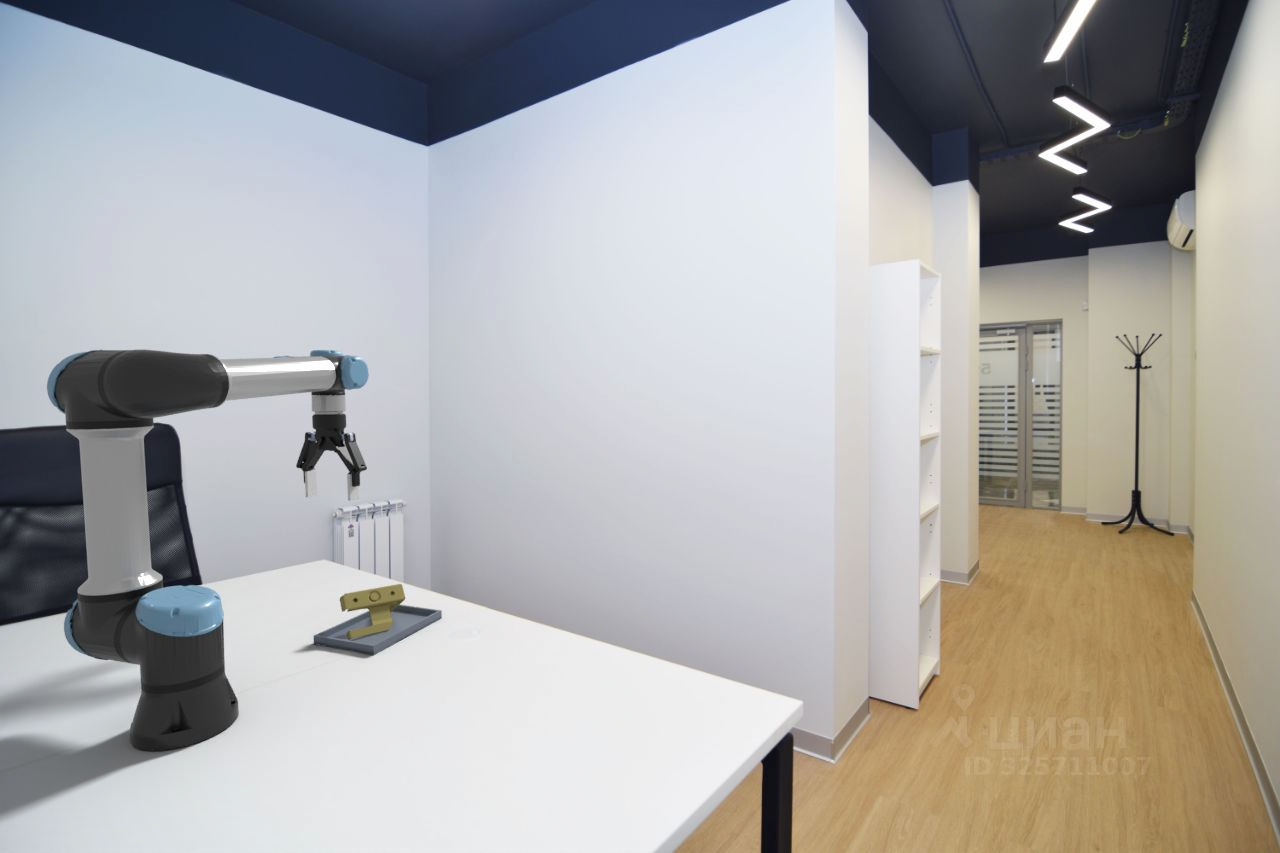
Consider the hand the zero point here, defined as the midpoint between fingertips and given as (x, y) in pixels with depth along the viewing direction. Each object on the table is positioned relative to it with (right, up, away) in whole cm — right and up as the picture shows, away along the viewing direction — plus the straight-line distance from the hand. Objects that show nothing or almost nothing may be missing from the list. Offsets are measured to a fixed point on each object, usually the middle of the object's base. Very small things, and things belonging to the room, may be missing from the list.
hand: (332, 498), depth 157 cm
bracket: (+10, -29, -4) cm, 31 cm away
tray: (+15, -31, -6) cm, 35 cm away
